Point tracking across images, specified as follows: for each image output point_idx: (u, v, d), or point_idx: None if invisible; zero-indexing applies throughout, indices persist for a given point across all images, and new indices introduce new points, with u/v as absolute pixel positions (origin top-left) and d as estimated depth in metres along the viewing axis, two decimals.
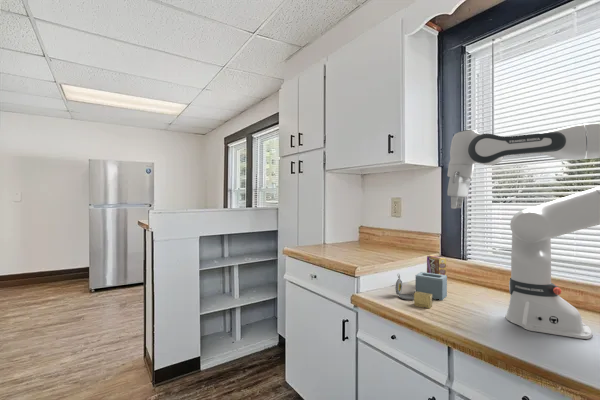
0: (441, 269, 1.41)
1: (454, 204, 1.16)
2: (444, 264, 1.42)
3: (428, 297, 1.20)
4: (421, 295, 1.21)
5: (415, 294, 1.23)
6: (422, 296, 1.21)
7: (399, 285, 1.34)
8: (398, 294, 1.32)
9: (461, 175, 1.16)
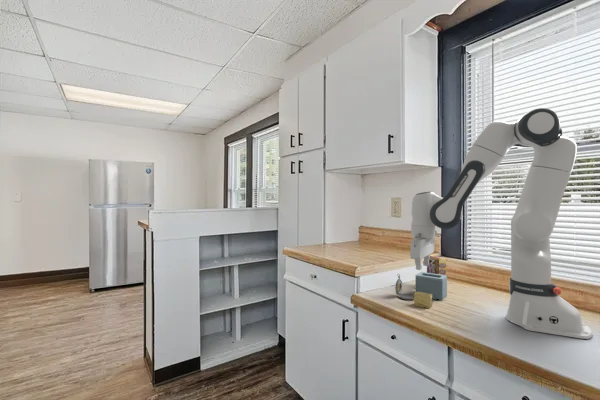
0: (441, 269, 1.41)
1: (418, 265, 1.18)
2: (444, 264, 1.42)
3: (428, 297, 1.20)
4: (421, 295, 1.21)
5: (415, 294, 1.23)
6: (422, 296, 1.21)
7: (399, 285, 1.34)
8: (398, 294, 1.32)
9: (423, 237, 1.18)
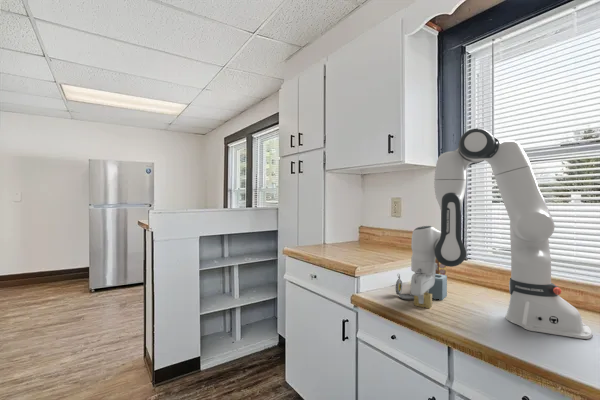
0: (441, 269, 1.41)
1: (421, 299, 1.20)
2: None
3: (428, 297, 1.20)
4: None
5: None
6: None
7: (399, 285, 1.34)
8: (398, 294, 1.32)
9: (423, 272, 1.18)
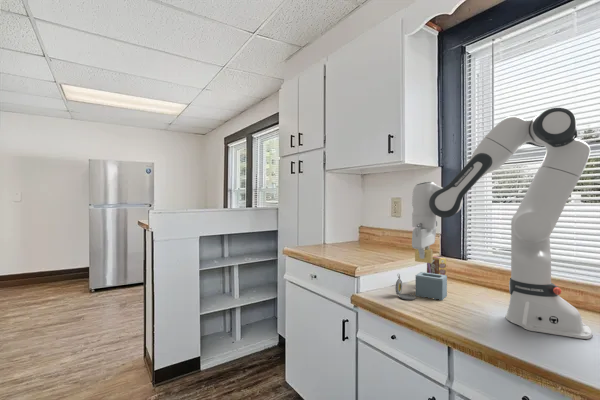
0: (441, 269, 1.41)
1: (422, 254, 1.21)
2: (444, 264, 1.42)
3: (429, 251, 1.21)
4: None
5: (416, 250, 1.24)
6: None
7: (399, 285, 1.34)
8: (398, 294, 1.32)
9: (424, 226, 1.19)
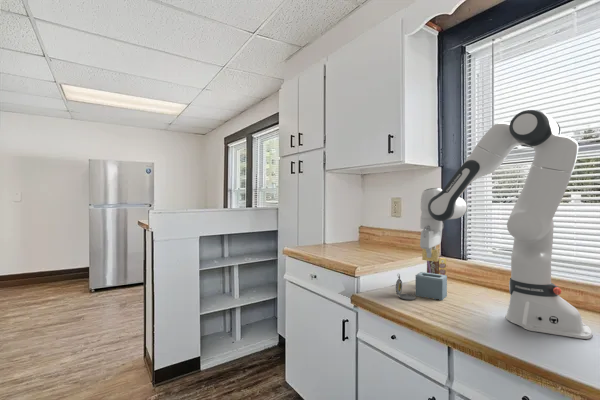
0: (441, 269, 1.41)
1: (429, 254, 1.33)
2: (444, 264, 1.42)
3: (435, 251, 1.33)
4: None
5: (423, 249, 1.36)
6: None
7: (399, 285, 1.34)
8: (398, 294, 1.32)
9: (431, 228, 1.31)
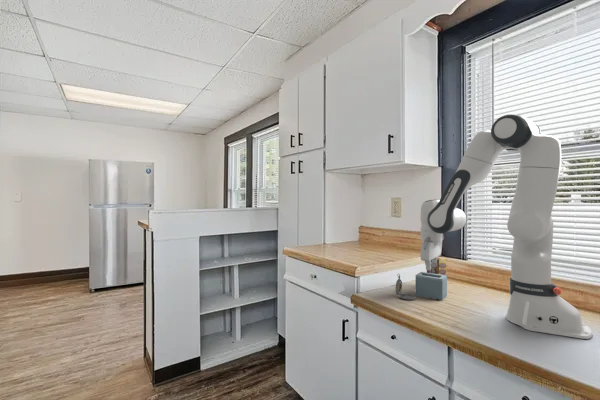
0: (441, 269, 1.41)
1: (428, 266, 1.31)
2: (444, 264, 1.42)
3: None
4: None
5: None
6: None
7: (399, 285, 1.34)
8: (398, 294, 1.32)
9: (431, 240, 1.31)
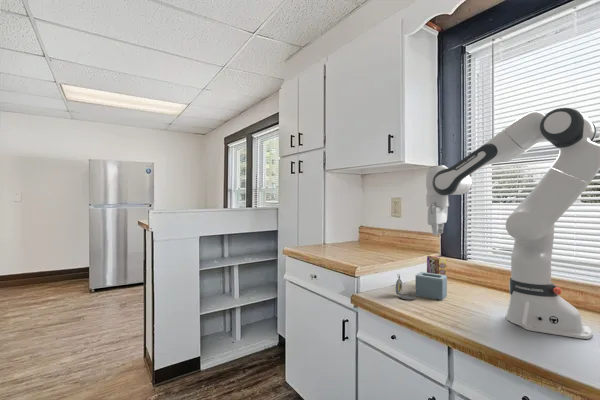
0: (441, 269, 1.41)
1: (435, 231, 1.31)
2: (444, 264, 1.42)
3: None
4: None
5: None
6: None
7: (399, 285, 1.34)
8: (398, 294, 1.32)
9: (438, 205, 1.32)
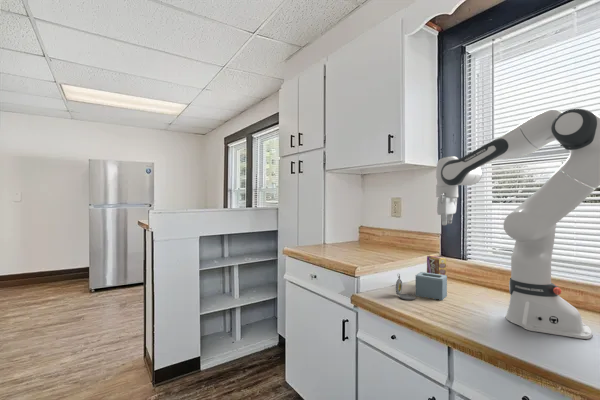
0: (441, 269, 1.41)
1: (444, 221, 1.33)
2: (444, 264, 1.42)
3: None
4: None
5: None
6: None
7: (399, 285, 1.34)
8: (398, 294, 1.32)
9: (448, 196, 1.33)
